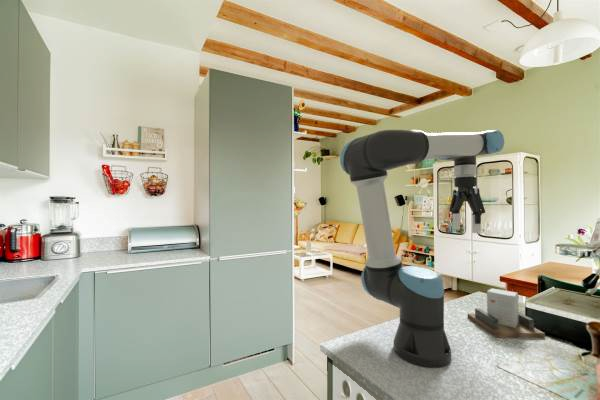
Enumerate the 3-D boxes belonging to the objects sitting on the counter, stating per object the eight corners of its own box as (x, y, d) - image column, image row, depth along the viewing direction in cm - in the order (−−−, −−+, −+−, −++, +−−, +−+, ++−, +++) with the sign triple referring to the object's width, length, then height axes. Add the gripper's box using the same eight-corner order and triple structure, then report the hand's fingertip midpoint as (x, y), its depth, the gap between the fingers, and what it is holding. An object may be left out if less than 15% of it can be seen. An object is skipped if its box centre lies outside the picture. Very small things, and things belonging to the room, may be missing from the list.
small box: (519, 323, 97) (518, 292, 97) (515, 328, 93) (515, 296, 93) (491, 316, 103) (491, 287, 103) (487, 321, 99) (486, 290, 99)
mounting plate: (496, 337, 90) (496, 323, 90) (467, 317, 106) (467, 305, 106) (544, 337, 90) (544, 323, 90) (508, 317, 106) (508, 305, 106)
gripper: (496, 173, 99) (497, 234, 99) (457, 179, 124) (458, 228, 124) (474, 173, 99) (475, 234, 99) (440, 179, 124) (440, 228, 124)
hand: (465, 231), depth 111 cm, fingers open, 13 cm apart
